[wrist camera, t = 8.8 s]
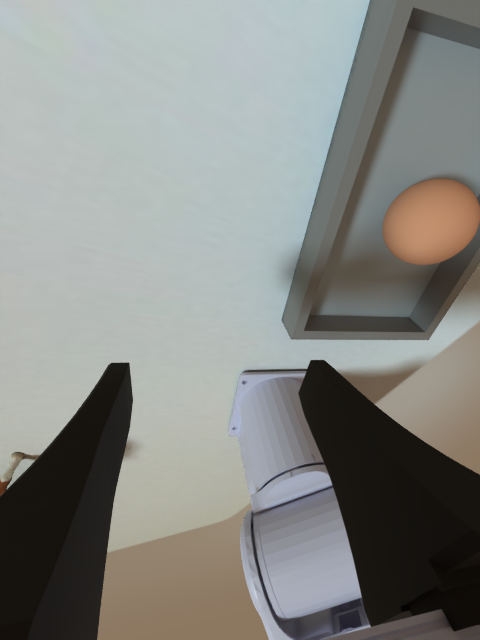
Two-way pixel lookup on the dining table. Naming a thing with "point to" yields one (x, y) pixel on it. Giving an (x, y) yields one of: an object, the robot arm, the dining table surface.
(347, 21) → the dining table surface
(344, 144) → the walled pen
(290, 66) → the dining table surface
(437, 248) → the ball
